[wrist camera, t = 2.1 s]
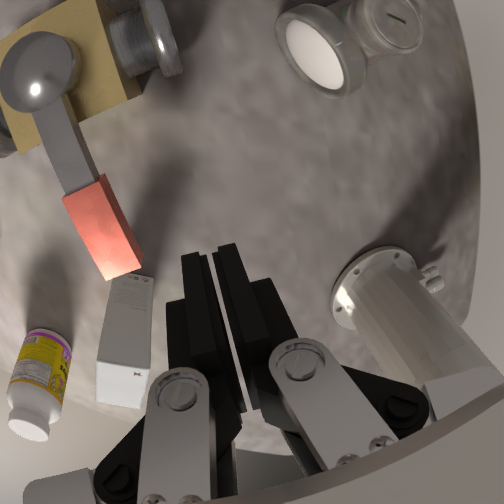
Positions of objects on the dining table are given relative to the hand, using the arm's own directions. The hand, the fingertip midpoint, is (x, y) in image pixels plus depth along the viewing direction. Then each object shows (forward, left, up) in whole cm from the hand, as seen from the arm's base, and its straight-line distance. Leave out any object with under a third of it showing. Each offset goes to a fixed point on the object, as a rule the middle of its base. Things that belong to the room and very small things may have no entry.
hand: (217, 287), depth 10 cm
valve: (+6, -10, -19) cm, 23 cm away
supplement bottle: (+25, +15, -20) cm, 35 cm away
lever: (+6, -5, -11) cm, 13 cm away
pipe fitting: (-16, -7, -20) cm, 26 cm away
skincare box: (+11, +12, -20) cm, 25 cm away
